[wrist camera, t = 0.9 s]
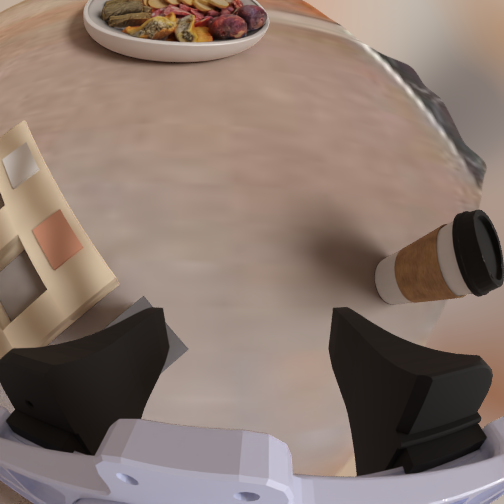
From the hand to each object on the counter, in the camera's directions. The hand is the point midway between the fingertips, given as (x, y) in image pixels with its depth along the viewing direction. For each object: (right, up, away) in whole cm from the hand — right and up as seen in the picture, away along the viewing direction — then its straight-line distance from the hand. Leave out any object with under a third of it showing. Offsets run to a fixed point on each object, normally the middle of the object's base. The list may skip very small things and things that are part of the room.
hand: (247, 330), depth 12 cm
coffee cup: (+17, 0, +21) cm, 28 cm away
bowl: (-13, +41, +23) cm, 49 cm away
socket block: (-22, +4, +8) cm, 24 cm away
